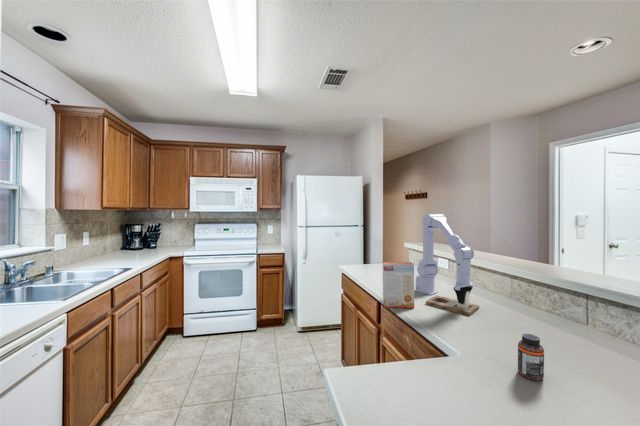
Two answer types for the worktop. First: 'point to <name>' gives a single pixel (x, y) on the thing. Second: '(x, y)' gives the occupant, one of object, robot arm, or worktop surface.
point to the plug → (466, 302)
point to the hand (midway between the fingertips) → (463, 302)
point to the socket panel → (451, 305)
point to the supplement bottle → (531, 357)
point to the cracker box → (398, 284)
